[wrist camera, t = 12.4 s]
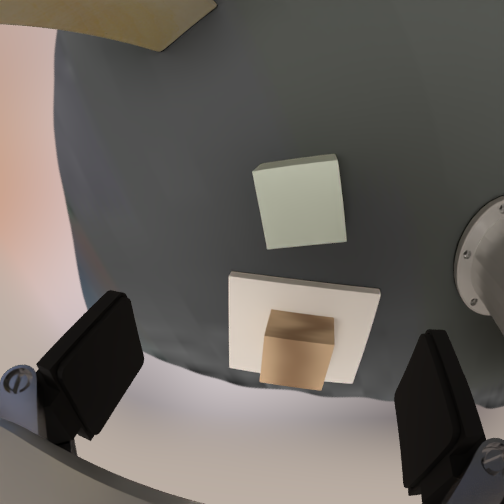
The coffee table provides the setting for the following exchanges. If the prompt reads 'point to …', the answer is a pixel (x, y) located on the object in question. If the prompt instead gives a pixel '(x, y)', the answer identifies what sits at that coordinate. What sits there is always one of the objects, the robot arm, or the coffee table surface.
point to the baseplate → (299, 301)
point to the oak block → (297, 349)
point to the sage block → (301, 201)
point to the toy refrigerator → (111, 18)
